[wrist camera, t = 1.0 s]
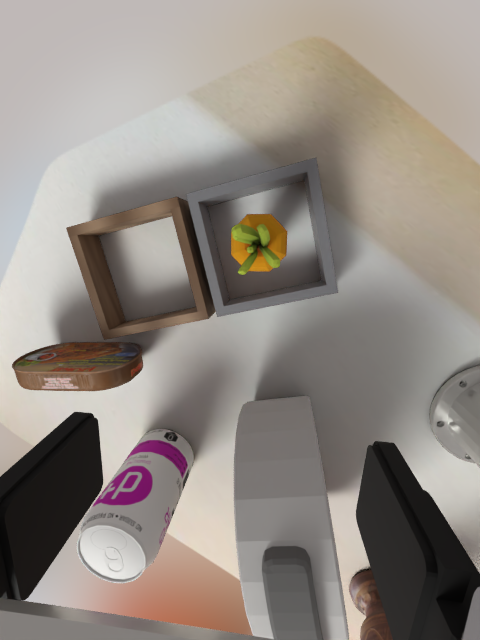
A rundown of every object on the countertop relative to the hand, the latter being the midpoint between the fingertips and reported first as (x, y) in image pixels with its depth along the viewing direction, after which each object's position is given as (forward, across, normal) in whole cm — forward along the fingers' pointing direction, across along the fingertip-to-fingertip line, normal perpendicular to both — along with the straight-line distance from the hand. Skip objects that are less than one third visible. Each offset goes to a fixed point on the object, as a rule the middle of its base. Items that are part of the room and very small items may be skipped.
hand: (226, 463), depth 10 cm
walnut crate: (+28, +13, -3) cm, 31 cm away
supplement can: (+27, +12, +22) cm, 37 cm away
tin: (+28, +21, +8) cm, 36 cm away
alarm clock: (+27, -5, +20) cm, 34 cm away
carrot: (+27, 0, -7) cm, 28 cm away
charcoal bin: (+27, 0, -7) cm, 28 cm away
